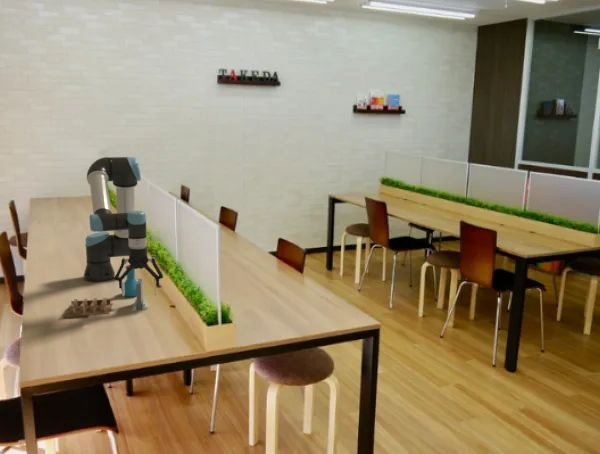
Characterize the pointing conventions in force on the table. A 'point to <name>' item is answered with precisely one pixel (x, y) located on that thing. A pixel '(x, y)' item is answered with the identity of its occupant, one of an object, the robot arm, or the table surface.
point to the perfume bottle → (130, 283)
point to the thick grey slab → (139, 294)
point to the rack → (88, 308)
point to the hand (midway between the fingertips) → (139, 294)
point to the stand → (144, 305)
